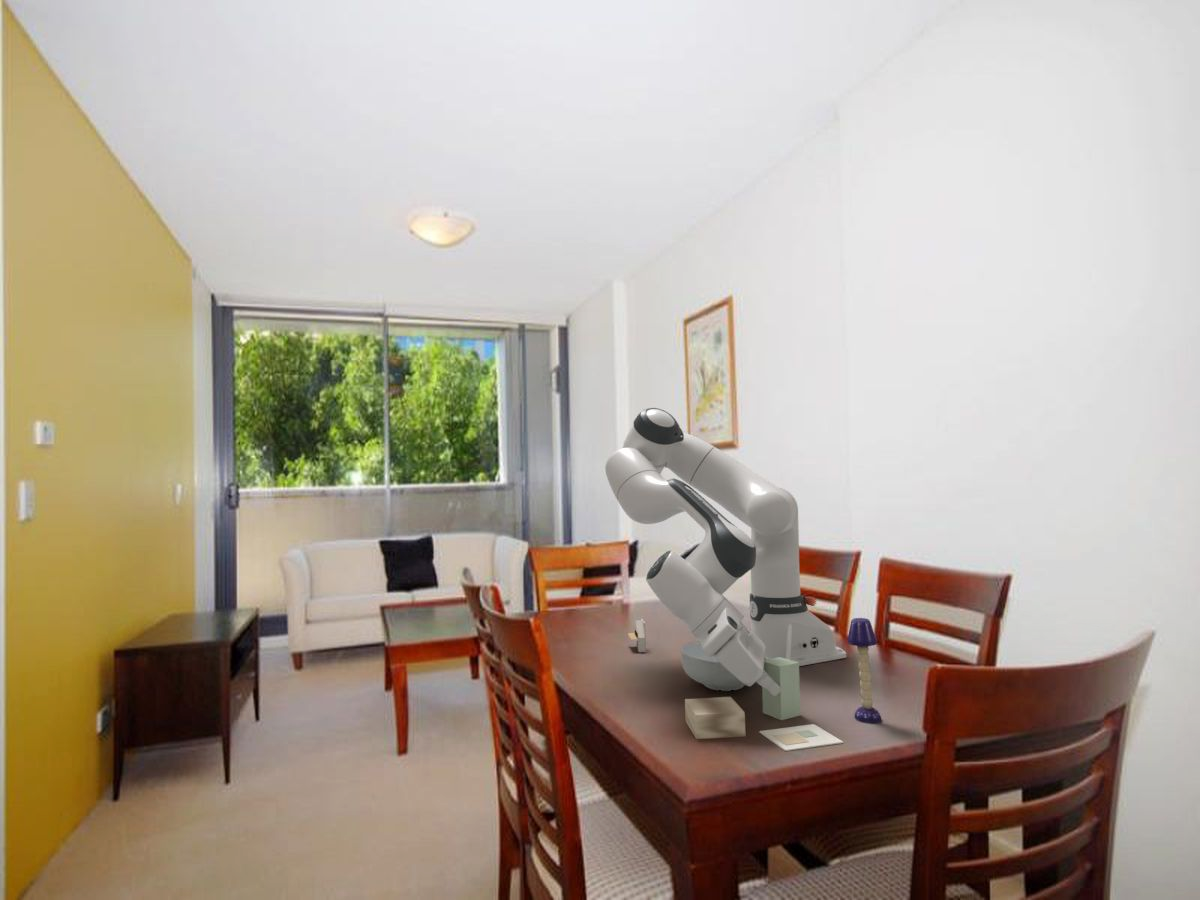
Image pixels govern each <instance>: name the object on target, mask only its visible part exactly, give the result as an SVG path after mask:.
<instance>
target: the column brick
mask: <svg viewBox="0 0 1200 900" xmlns="http://www.w3.org/2000/svg"><path fill="white" fill-rule="evenodd" d="M764 670H765V672H766V673H767V675H769V676H770V677H771V678H772V679H773V680H775V681H776V682H777V683H778V684H779V685H780V686H781V691H780V692H779V693H778V694H777V695H776V696H773V695H772V694H771V693H770V692H769V691H768V690H767V689H765V688H764V687H762V686H761V691H762V694H761V695H762V697H761V698H762V713H763V714H765V715H767V716H770V717H773V718H774V719H777V720H780V721H784V720H785V721H786V720H788V719H792V718H796V717H799V716H801V715H802V713H801V711H802V710H801V689H800V688H801V687H800V685H801V684H800V683H801V682H800V666H799V662H796V661H792V660H789V659H785V658H782V657H777V658H772V659H767V660H764Z"/></svg>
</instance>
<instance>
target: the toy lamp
mask: <svg viewBox="0 0 1200 900" xmlns="http://www.w3.org/2000/svg"><path fill="white" fill-rule="evenodd" d="M877 642H878V641H877V637H876V635H875V632H874V628H873V626H872V623H871V621H870V619H868V618H865V617H855V618H854V617H853V618H852V619H851V620H850V625H849V630H848V636H847V643H848V645H851V646H854V647H855V646H856V647H857V648H856V649H857V651H858V653H857V654H858V655H857V658H858V659H857V660H858V669H859V674H858V675H859V679H860V681H859V687H860V696H861V703H860V704H861V706H859V707H858V708H857V709H856V710H855V712H854V718H855V719H856V721H859V722H862V723H866V724H875V723H880V722H881V721H882V716H881V713H880V712H879V710H877V709H876V708H875V707H873V704H874V703H873V700H872V697H873V694H872V692H873V691H872V690H871V689H872V683H871V673H870V669H871V666H870V663H869V662H870V655H869V647H871V646H875V645H877Z"/></svg>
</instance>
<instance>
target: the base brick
mask: <svg viewBox="0 0 1200 900" xmlns="http://www.w3.org/2000/svg"><path fill="white" fill-rule="evenodd" d="M684 710H685V711H684V713H685V715H684V717H685V718H684V719H685V723H686V724H687V726H688V728H689V729H690V731H691V734H692V735H693V736H694V737H695V739H696V740H701V739H716V738H717V739H720V738H721V739H722V738H737V737H747V736H746V714H745V710H743V708H741V706H740V705H739V704H738V703H737V702H736V701H735V700H734V699H733V698H732V696H721V697H720V696H719V697H702V698H701V697H700V698H685V699H684Z"/></svg>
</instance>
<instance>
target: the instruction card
mask: <svg viewBox="0 0 1200 900" xmlns="http://www.w3.org/2000/svg"><path fill="white" fill-rule="evenodd" d="M758 733H759V734H760V735H762V736H763V737H764V738H766V739H768V740H769V741H770V742H772V743H774V744H775V745H776V746H777V747H779V748H780V749H782V750H783V751H785V752H788V751H796V750H803V749H809V748H818V747H819V748H820V747H824V746H833V745H839V744H844V741H842V740H841V739H839V738H838V737H836V736H834V735H833V734H831V733H829V732H828V731H826V730H824V729H823V728H821V727H819V726H818V725H816V724H814V723H812V724H805V725H804V724H803V725H797V726H790V727H781V728H774V729H772V728H771V729H766V730H760V731H758Z"/></svg>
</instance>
